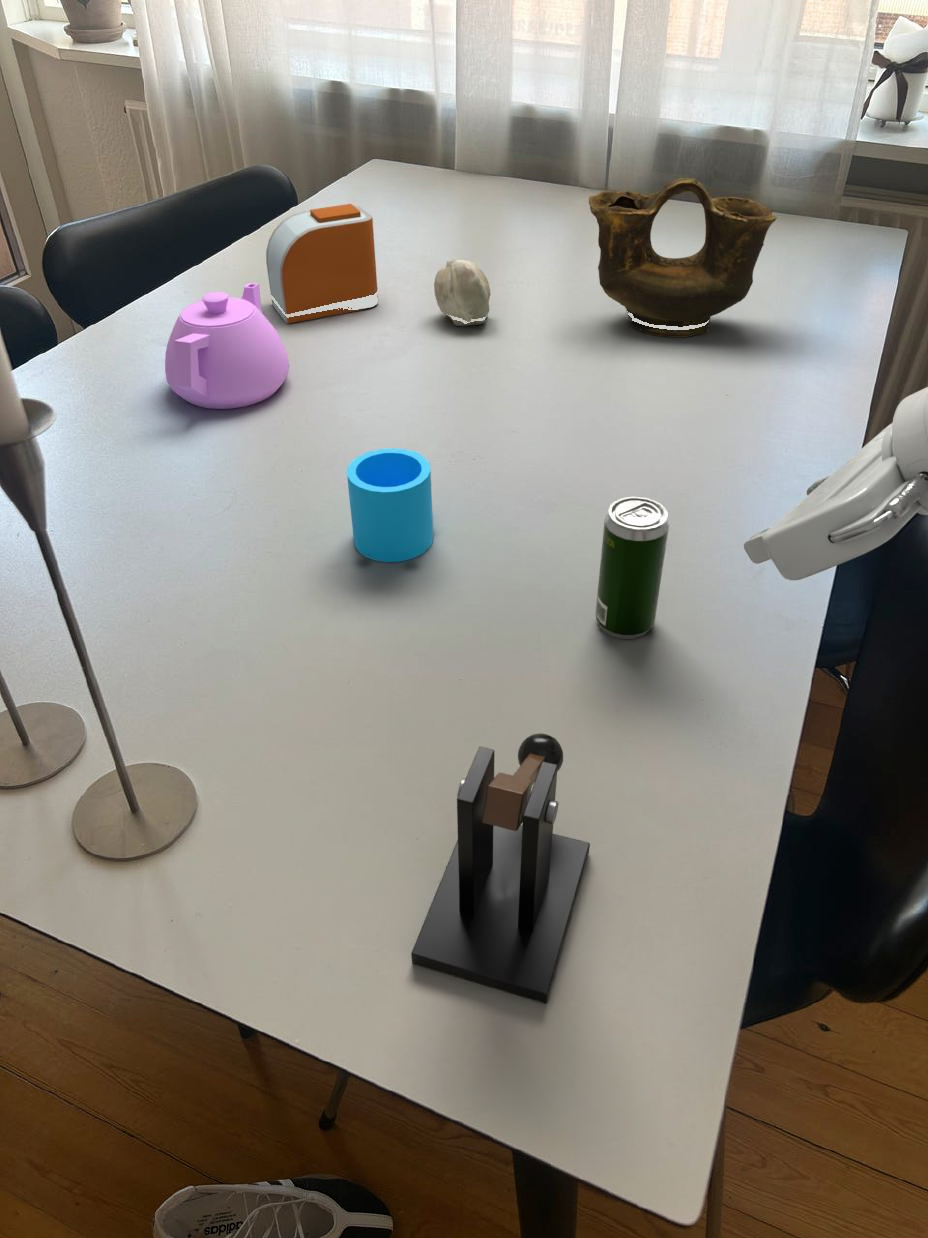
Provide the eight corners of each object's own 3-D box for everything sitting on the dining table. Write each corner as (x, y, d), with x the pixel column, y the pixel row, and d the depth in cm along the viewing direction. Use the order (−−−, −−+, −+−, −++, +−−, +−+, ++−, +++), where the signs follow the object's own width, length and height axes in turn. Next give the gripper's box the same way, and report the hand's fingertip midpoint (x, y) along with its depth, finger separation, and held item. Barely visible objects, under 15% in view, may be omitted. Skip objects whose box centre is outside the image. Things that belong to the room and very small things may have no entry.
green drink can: (615, 648, 86) (628, 537, 78) (583, 614, 89) (593, 504, 82) (665, 630, 87) (683, 520, 80) (632, 597, 91) (646, 489, 83)
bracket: (469, 822, 71) (467, 697, 63) (589, 853, 69) (603, 728, 61) (411, 964, 62) (401, 841, 54) (546, 1004, 60) (557, 883, 52)
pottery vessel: (577, 334, 137) (587, 187, 124) (583, 304, 145) (592, 163, 133) (757, 345, 134) (786, 195, 121) (753, 314, 142) (780, 170, 129)
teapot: (252, 432, 116) (236, 337, 108) (135, 418, 119) (111, 324, 112) (317, 355, 133) (307, 268, 125) (213, 345, 136) (197, 259, 128)
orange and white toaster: (363, 287, 152) (356, 197, 143) (382, 306, 146) (376, 213, 137) (271, 303, 147) (258, 211, 138) (287, 324, 141) (274, 228, 132)
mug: (414, 569, 95) (410, 498, 90) (339, 552, 97) (331, 482, 92) (458, 506, 103) (457, 438, 98) (389, 492, 106) (384, 425, 100)
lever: (520, 766, 70) (527, 724, 70) (562, 776, 69) (570, 734, 69) (472, 827, 58) (480, 776, 57) (523, 840, 57) (532, 789, 56)
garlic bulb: (484, 344, 140) (496, 289, 132) (427, 335, 140) (435, 279, 131) (488, 301, 145) (499, 245, 137) (432, 292, 145) (440, 235, 136)
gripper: (917, 567, 54) (734, 626, 66) (1038, 432, 66) (865, 502, 77) (861, 471, 54) (686, 547, 65) (993, 352, 65) (825, 434, 77)
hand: (784, 522), depth 71 cm, fingers open, 8 cm apart
